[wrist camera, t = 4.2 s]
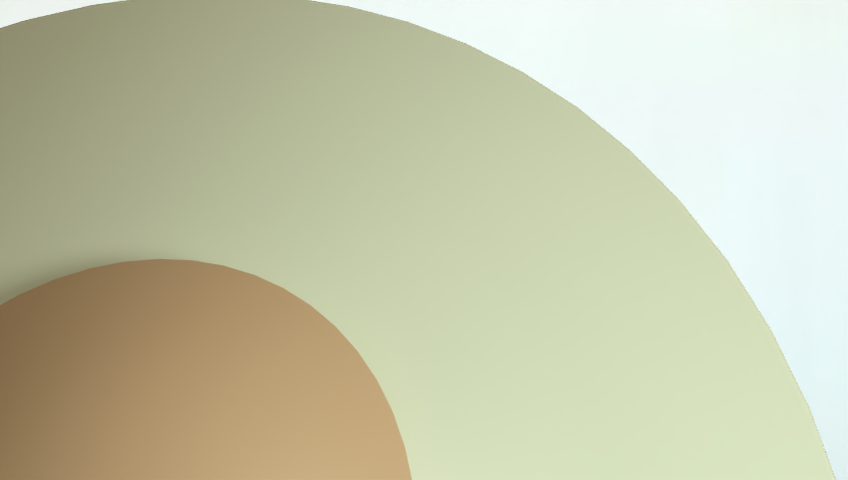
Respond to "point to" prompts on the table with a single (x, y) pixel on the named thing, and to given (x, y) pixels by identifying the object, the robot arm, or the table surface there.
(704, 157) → the table surface
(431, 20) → the table surface
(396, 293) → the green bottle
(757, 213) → the table surface
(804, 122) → the table surface
